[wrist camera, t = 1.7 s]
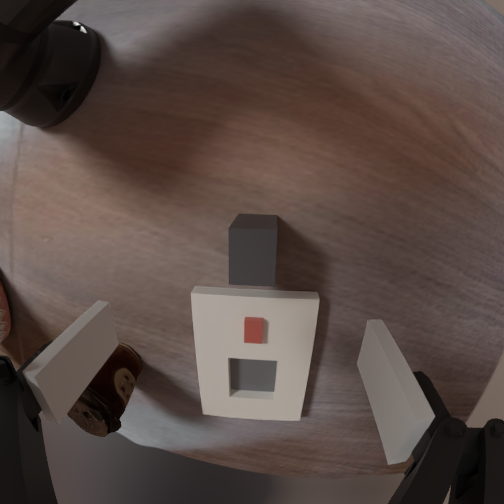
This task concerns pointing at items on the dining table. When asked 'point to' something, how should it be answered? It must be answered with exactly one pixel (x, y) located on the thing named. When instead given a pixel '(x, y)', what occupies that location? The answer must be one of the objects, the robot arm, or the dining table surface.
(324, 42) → the dining table surface
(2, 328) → the planter
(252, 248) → the plug
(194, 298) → the faceplate
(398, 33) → the dining table surface
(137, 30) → the dining table surface
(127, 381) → the coffee cup
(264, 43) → the dining table surface
